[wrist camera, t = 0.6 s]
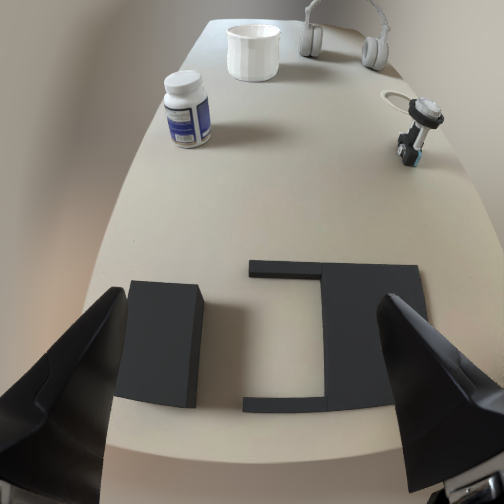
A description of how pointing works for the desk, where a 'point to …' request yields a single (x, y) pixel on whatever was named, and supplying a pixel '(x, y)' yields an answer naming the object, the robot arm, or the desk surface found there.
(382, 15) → the headphones
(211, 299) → the desk surface
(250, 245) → the desk surface
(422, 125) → the push button
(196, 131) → the pill bottle
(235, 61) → the cup
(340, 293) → the base pad
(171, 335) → the foam pad
